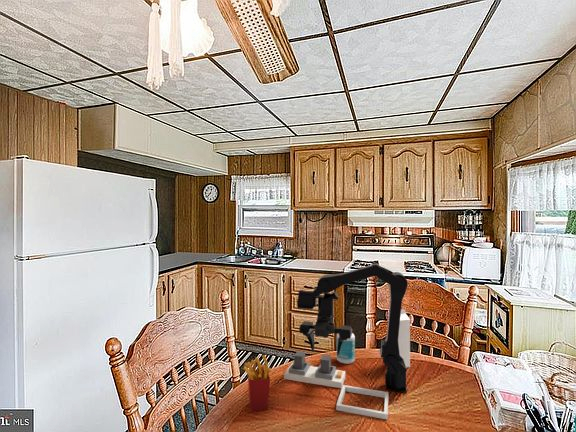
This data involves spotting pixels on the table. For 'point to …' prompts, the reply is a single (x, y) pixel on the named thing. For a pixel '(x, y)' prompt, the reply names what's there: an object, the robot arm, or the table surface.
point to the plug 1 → (299, 360)
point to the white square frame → (362, 410)
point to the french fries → (258, 384)
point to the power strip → (316, 375)
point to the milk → (404, 338)
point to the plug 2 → (326, 364)
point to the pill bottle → (347, 350)
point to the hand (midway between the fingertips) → (325, 353)
